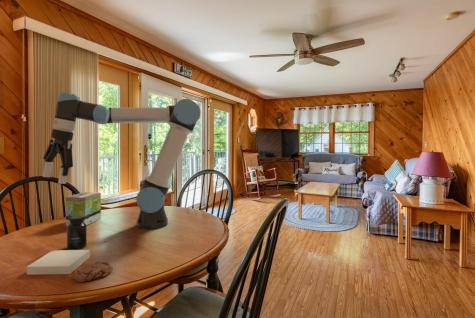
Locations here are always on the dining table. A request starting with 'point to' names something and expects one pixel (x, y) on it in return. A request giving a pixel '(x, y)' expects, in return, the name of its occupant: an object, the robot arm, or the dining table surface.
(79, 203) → the tea box
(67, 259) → the ceramic tile
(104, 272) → the cookie
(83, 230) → the supplement bottle
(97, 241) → the dining table surface
